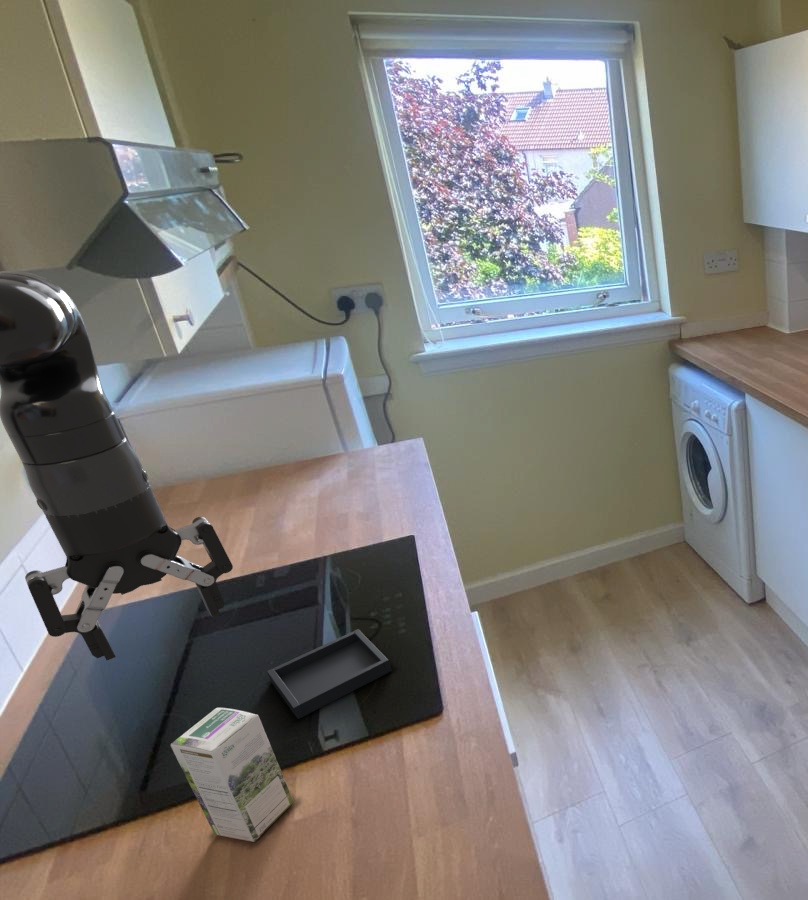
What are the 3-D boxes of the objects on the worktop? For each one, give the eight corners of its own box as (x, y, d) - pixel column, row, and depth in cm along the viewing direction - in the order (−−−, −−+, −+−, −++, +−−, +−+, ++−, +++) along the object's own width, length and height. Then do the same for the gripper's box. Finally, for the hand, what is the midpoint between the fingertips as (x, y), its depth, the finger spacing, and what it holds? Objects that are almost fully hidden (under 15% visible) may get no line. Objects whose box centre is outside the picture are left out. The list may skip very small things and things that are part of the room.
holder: (298, 719, 101) (293, 707, 100) (271, 682, 108) (266, 671, 107) (392, 671, 110) (388, 659, 109) (361, 639, 117) (358, 628, 116)
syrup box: (256, 795, 90) (214, 704, 84) (297, 802, 89) (257, 711, 83) (213, 835, 85) (165, 742, 79) (256, 844, 84) (211, 750, 78)
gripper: (180, 457, 75) (235, 588, 82) (-16, 510, 65) (64, 655, 72) (200, 476, 70) (256, 614, 77) (-8, 537, 61) (77, 689, 67)
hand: (163, 633), depth 74 cm, fingers open, 8 cm apart
